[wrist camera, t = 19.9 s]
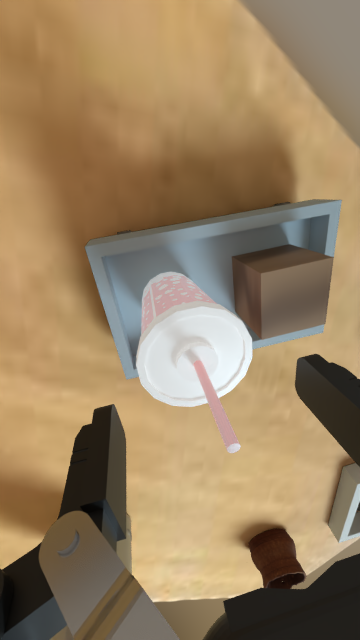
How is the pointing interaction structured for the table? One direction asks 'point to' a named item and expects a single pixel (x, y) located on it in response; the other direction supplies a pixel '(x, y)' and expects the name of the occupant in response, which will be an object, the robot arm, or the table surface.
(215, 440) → the table surface
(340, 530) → the light grey tray
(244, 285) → the walnut block
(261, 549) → the ceramic pot
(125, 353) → the light blue tray
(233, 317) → the beverage cup
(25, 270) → the table surface
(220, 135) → the table surface
